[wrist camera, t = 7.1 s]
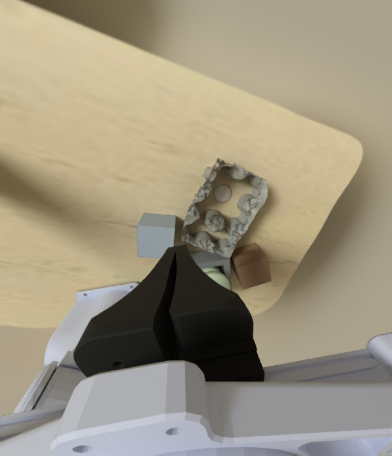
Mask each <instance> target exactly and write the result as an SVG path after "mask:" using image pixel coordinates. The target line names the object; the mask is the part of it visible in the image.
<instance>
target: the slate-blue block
mask: <svg viewBox="0 0 392 456" xmlns="http://www.w3.org/2000/svg"><path fill="white" fill-rule="evenodd" d="M175 219H176V216H173V215H162V214H150V213H144V214H143V216H142V217H141V219H140V221H139V223H138V224H137V257H146V258H161V257H162V256H163V254H164V253H165V251H166V250H167V248H168V247H173V246H174V234H175Z"/></svg>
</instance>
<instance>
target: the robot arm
mask: <svg viewBox="0 0 392 456" xmlns="http://www.w3.org/2000/svg"><path fill="white" fill-rule="evenodd" d="M75 296H76V298H77V300H76V302H75V303H74V305H73V306H72V308H71V309H70V311H69V312H68V313H67V315H66V316H65V318H64V319H63V321H62V322H61V324H60V325H59V327H58V328H57V330H56V331H55V332H54V334H53V335H52V337H51V339H50V341H49V343H48V346H47V349H46V353H45V359H44V362H45V366H44V367H43V368H42V369H41V371H40V372H39V373H38V375H37V376H36V378H35V379H34V381H33V382H32V384H31V386H30V387H29V389H28V390H27V392H26V393H25V395H24V397H23V398H22V400H21V401H20V403H19V405H18V406H17V408H16V409H15V411H14V413H13V414H9V415H3V416H0V456H392V332H391V333H385V334H380V335H377V336H374V337H372V338H371V339H370V340H369V341H368V344H367V348H366V349H361V350H355V351H350V352H345V353H339V354H334V355H328V356H323V357H317V358H312V359H307V360H301V361H296V362H291V363H285V364H280V365H275V366H269V367H262V364H261V362H260V359H259V357H258V354H257V348H256V344H255V342H254V339H253V319H252V316H251V314H250V312H249V310H248V309H247V307H246V305H245V304H244V302H243V301H242V299H241V298H240V297H239V295H238V294H237V293H235V292H233V291H231V290H229V289H227V288H225V287H223V286H222V285H220V284H218V283H217V282H216V281H214V280H213V279H212V278H210V277H209V276H208V275H207V274H206V273H205V272H204V271H203V270H202V269H201V268H200V267H199V266H198V265H197V264H196V262H195V261H194V260H193V258H192V257H191V255H190V254H189V252H188V249H187V246H186V245H180V246H174V247H168V248H167V250H166V251H165V253H164V254H163V256H162V257H161V259H160V260H159V262H158V263H157V264H156V266H155V267H154V268H153V270H152V271H151V272H150V273H149V274H148V276H147V277H146V278H145V279H144V280H143V281H142V282H141V283H140V284H139V283H137V282H134V283H128V284H122V285H116V286H110V287H104V288H98V289H92V290H86V291H80V292H77V293H76V294H75Z"/></svg>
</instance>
